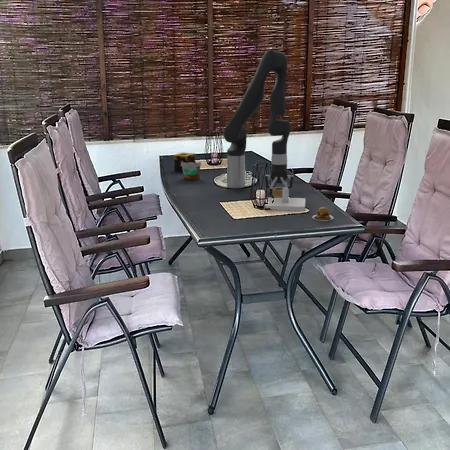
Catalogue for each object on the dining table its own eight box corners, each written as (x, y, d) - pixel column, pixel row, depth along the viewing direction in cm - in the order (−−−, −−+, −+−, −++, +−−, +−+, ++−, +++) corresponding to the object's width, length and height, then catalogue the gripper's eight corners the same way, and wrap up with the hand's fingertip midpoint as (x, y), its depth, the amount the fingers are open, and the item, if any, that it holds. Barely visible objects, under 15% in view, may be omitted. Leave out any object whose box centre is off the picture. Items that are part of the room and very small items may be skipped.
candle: (196, 169, 316) (196, 153, 313) (187, 172, 308) (186, 156, 305) (183, 167, 321) (182, 152, 318) (173, 170, 313) (173, 154, 310)
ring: (271, 198, 246) (271, 190, 244) (272, 195, 252) (272, 186, 250) (285, 199, 245) (285, 190, 243) (285, 195, 251) (285, 187, 249)
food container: (177, 180, 288) (176, 163, 285) (182, 177, 294) (181, 160, 291) (197, 181, 284) (196, 164, 281) (201, 179, 289) (201, 162, 286)
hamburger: (317, 213, 223) (318, 201, 222) (342, 218, 216) (342, 206, 214) (303, 220, 215) (303, 208, 213) (327, 226, 207) (328, 213, 205)
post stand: (264, 210, 229) (264, 190, 226) (267, 201, 242) (267, 183, 239) (304, 210, 226) (305, 191, 223) (305, 202, 239) (305, 184, 236)
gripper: (263, 163, 241) (263, 197, 246) (294, 164, 238) (293, 198, 243) (265, 160, 248) (265, 193, 253) (294, 161, 245) (294, 194, 250)
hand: (278, 195), depth 248 cm, fingers closed on ring, 6 cm apart
